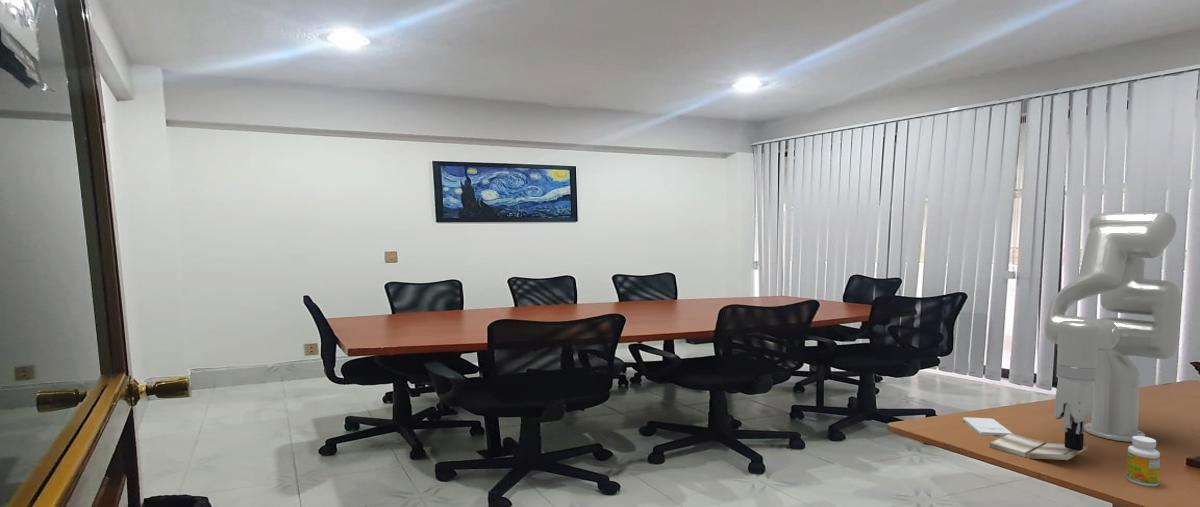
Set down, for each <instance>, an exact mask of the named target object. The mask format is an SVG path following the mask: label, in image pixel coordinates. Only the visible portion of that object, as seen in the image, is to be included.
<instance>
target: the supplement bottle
mask: <svg viewBox="0 0 1200 507" xmlns="http://www.w3.org/2000/svg"><path fill="white" fill-rule="evenodd" d="M1131 444H1132V445H1129V446H1128V447H1127V453H1126V454H1127V456H1126V457H1127V461H1126V479H1127V480H1128V481H1129V482H1131V483H1134V484H1137V485H1140V486H1145V487H1158V486H1159V484H1160V471H1161V470H1160V468H1161V464H1160V463H1161V453H1160V452H1159V450H1157V449H1156V447H1157V440H1156V439H1154V438H1152V437H1149V436H1145V437H1144V436H1133V437H1132V442H1131Z"/></svg>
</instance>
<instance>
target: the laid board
mask: <svg viewBox="0 0 1200 507" xmlns="http://www.w3.org/2000/svg"><path fill="white" fill-rule="evenodd" d="M1011 433H1012V432H1011ZM1011 433H1010V434H1008V435H1006V436H1001V437H999V438H997V439H995V440H994V441H991V442H989V448H990V449H993V450H998V451H1001V452H1005V453H1008V454H1012V455H1016V456H1019V457H1022V458H1027V459H1030V458H1029V454H1028V453H1030V452H1032V451H1034V450H1036V449H1038V448H1040V447H1041V446H1043V445H1045V444H1046V441H1043V440H1039V439H1034V438H1032V437H1027V436H1022V435H1019V434H1016V433H1013V434H1011Z"/></svg>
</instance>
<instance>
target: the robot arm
mask: <svg viewBox="0 0 1200 507" xmlns="http://www.w3.org/2000/svg"><path fill="white" fill-rule="evenodd" d="M1088 226H1089V232H1088V234H1087V237H1086V242H1085V247H1084V251H1083V255H1082V260H1081V264H1080V269H1079V273H1078V277H1077V278H1076V279H1074V280H1073V281H1071V282H1070V283H1068V284H1067V285H1065V286H1063V288H1061V289H1060V290H1059V292H1057V293H1056V295H1055V296H1054V298H1052V300H1051V302H1050V304H1049V309H1048V313H1047V317H1046V322H1045V327H1044V328H1045V330H1044V331H1045V336H1046V338H1047V340H1048V341H1049V342H1051V343H1052V344H1056V345H1057V350H1056V351H1057V352H1056V353H1057V354H1056V355H1057V356H1056V378H1058V380H1057V385H1056V391H1055V399H1054V412H1053V417H1054V419H1056V420H1060V419H1063V422H1062V427H1063V428H1064V443H1065V447H1066V448H1069V449H1073V450H1077V451H1081V450H1082V449H1083V443H1084V435H1085V434H1084V432H1087V433H1089V434H1091V435H1093V436H1096V437H1099V438H1103V439H1107V440H1112V441H1118V442H1119V441H1120V442H1128V443H1129V442H1130V443H1132V437H1133V436H1144V437H1146V434H1145V433H1144V432H1143V431H1141V430H1139V402H1140V401H1139V400H1140V398H1139V397H1140V372H1139V369H1138V367H1137V365H1136V364H1135V363H1134V361H1133V360H1132V359H1131V358H1130V357H1129V356H1131V357H1133V356H1134V357H1140V358H1149V359H1157V360H1168V359H1172V358H1173V357H1174V356H1175V355H1176V353H1177V349H1178V344H1179V334H1180V333H1179V332H1180V331H1179V330H1180V318H1181V306H1182V303H1181V302H1182V301H1181V300H1182V298H1181V291H1180V289H1179V287H1178V286H1177V285H1176V284H1175V283H1174V282H1172V281H1169V280H1162V279H1147V278H1146V279H1145V276H1144V275H1145V266H1146V265H1145V264H1146V263H1145V260H1144V259H1155V258H1157V257H1158V256H1160V255H1162V253H1164V250H1165V249H1166V248H1167V247H1168V246H1169V245H1170V243H1171V242H1172V241H1173V239H1174V237H1175V235H1176V231H1177V223H1176V219H1175V217H1174V216H1173V215H1172V214H1171V213H1170V212H1167V211H1109V212H1108V211H1107V212H1102V213H1098V214H1095V215H1094V216H1092V217H1091V218H1090V220H1089V225H1088ZM1097 295H1100V306H1101V307H1102V308H1103V310H1106V311H1108V312H1112V313H1115V314H1116V313H1118V314H1126V315H1127V314H1128V315H1137V316H1138V315H1139V316H1150V317H1152V318H1153V319H1154V321H1153V320H1152V321H1151V320H1144V319H1143V320H1141V319H1133V318H1122V317H1102V318H1101V317H1100V318H1095V317H1094V318H1093V317H1083V316H1075V315H1066V313H1067V312H1068V310H1069V308H1070V307H1071V306H1073V305H1074V304H1076V303H1077V302H1079V301H1082V300H1085V299H1086V298H1089V297H1090V298H1091V297H1093V296H1097ZM1090 418H1091V422H1088V423H1086V420H1089V419H1090Z"/></svg>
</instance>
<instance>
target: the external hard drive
mask: <svg viewBox="0 0 1200 507" xmlns="http://www.w3.org/2000/svg"><path fill="white" fill-rule="evenodd" d="M964 421H965V422H964ZM962 422H964V423H965V424H966V425H967V424H968V426H969V428H971V429H972V430H973V431H975V432H976V433H978V434H977V435H980V436H986V437H987V436H988V437H1004V436H1006V435H1008V434H1010V433H1011V434H1014V433H1013V432H1011V431H1010V430H1009V429H1007V428H1006V427H1005V426H1004V425H1002V424H1001V423H999V421H996V420H995V419H994V418H989V417H988V418H986V417H968V416H967V417H962Z"/></svg>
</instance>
